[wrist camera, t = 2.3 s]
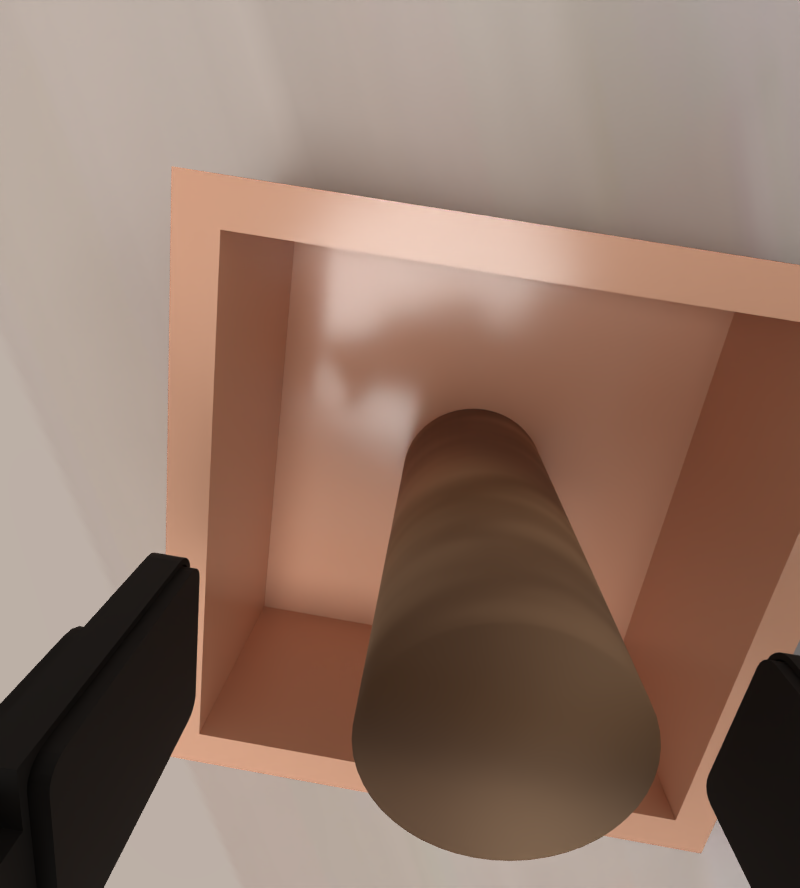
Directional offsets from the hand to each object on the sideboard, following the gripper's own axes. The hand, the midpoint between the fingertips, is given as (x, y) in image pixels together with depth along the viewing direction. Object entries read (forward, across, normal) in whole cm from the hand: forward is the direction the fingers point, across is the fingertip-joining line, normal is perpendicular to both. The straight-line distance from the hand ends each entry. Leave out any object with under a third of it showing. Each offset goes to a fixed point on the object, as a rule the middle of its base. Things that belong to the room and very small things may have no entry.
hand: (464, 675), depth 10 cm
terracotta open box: (+10, -1, 0) cm, 10 cm away
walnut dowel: (+10, -1, 0) cm, 10 cm away
